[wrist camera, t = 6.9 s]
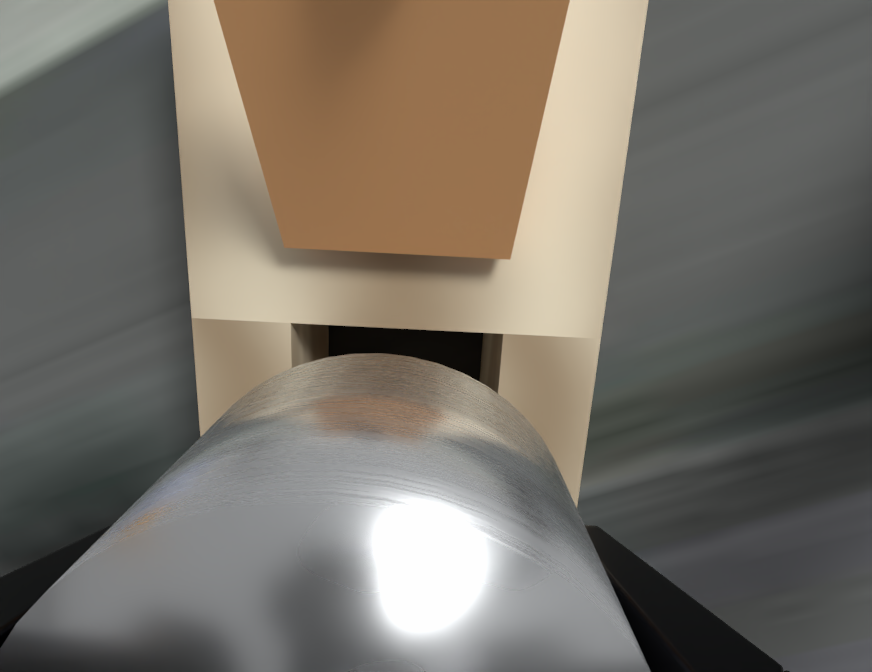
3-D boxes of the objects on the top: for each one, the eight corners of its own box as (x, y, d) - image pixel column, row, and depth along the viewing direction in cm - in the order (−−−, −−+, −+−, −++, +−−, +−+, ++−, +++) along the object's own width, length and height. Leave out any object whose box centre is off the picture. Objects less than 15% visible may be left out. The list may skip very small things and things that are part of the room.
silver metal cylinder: (543, 310, 12) (747, 523, 4) (515, 552, 13) (622, 1032, 6) (256, 295, 12) (-100, 482, 4) (266, 541, 13) (31, 1011, 6)
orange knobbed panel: (508, 234, 12) (512, 287, 11) (291, 222, 12) (276, 275, 11) (612, -256, 6) (641, -233, 5) (161, -287, 6) (101, -268, 5)
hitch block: (597, -42, 14) (669, -150, 10) (538, 468, 18) (570, 551, 14) (241, -64, 14) (154, -183, 10) (262, 455, 18) (207, 534, 14)
